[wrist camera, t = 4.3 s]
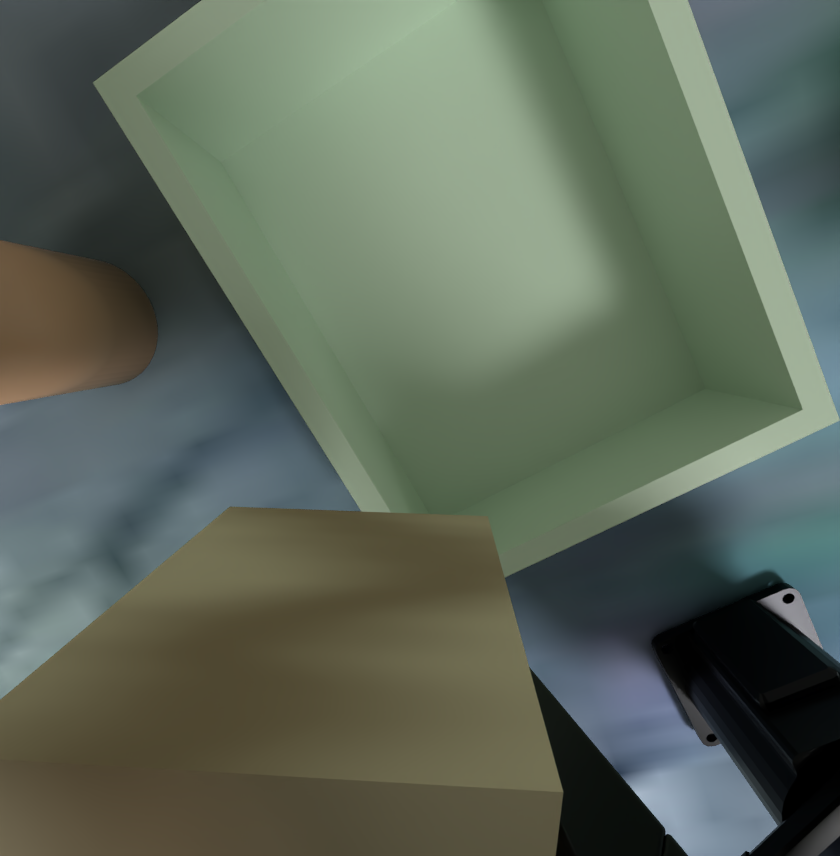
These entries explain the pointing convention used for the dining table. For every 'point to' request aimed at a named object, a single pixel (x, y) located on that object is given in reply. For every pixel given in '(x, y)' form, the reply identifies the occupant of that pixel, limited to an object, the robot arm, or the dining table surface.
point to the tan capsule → (68, 324)
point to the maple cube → (290, 703)
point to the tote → (484, 247)
